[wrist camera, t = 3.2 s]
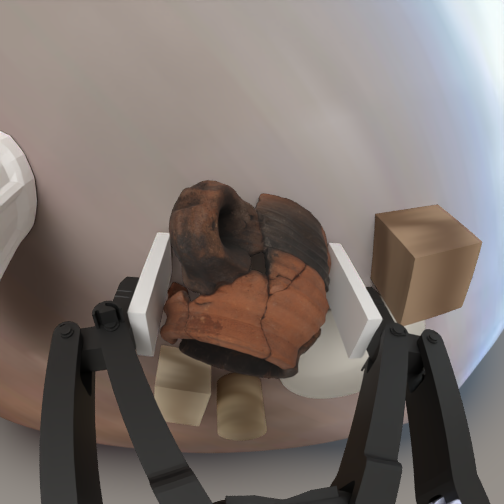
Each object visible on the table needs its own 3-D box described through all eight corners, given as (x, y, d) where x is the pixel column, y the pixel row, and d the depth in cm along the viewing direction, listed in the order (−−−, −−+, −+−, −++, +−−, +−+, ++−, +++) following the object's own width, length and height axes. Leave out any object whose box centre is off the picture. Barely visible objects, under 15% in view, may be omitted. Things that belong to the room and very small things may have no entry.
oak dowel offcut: (216, 394, 26) (217, 440, 22) (217, 371, 24) (217, 422, 20) (257, 394, 27) (263, 439, 22) (263, 371, 25) (270, 421, 20)
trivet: (266, 399, 27) (267, 403, 27) (296, 294, 20) (297, 297, 20) (387, 386, 29) (388, 389, 29) (447, 292, 22) (449, 295, 21)
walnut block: (370, 277, 20) (399, 327, 16) (374, 213, 17) (415, 258, 13) (426, 264, 20) (461, 307, 16) (437, 204, 17) (482, 241, 13)
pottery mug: (348, 270, 20) (332, 390, 16) (230, 272, 24) (198, 369, 20) (297, 112, 11) (247, 292, 7) (137, 157, 16) (61, 281, 11)
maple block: (157, 382, 25) (153, 419, 22) (161, 343, 22) (154, 385, 19) (199, 389, 26) (198, 426, 22) (211, 351, 23) (211, 394, 19)
